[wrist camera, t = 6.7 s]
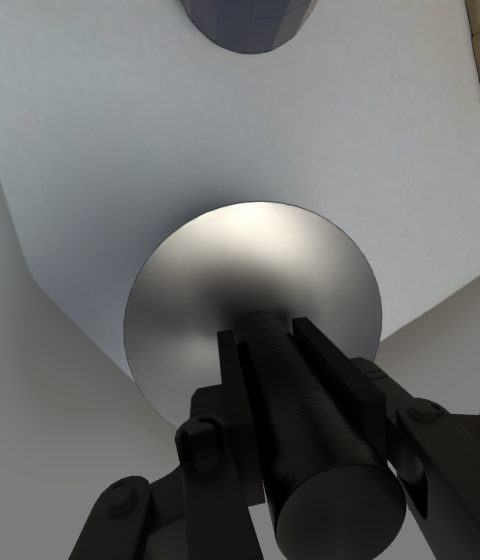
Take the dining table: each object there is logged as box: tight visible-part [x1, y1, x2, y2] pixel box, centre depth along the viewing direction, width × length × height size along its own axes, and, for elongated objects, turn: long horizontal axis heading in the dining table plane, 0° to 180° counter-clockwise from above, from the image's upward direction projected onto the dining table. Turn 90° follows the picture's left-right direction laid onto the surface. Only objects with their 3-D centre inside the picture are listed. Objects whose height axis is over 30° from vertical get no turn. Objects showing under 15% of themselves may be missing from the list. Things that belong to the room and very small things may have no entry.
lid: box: [124, 201, 406, 560], centre depth 12 cm, size 14×14×11 cm
